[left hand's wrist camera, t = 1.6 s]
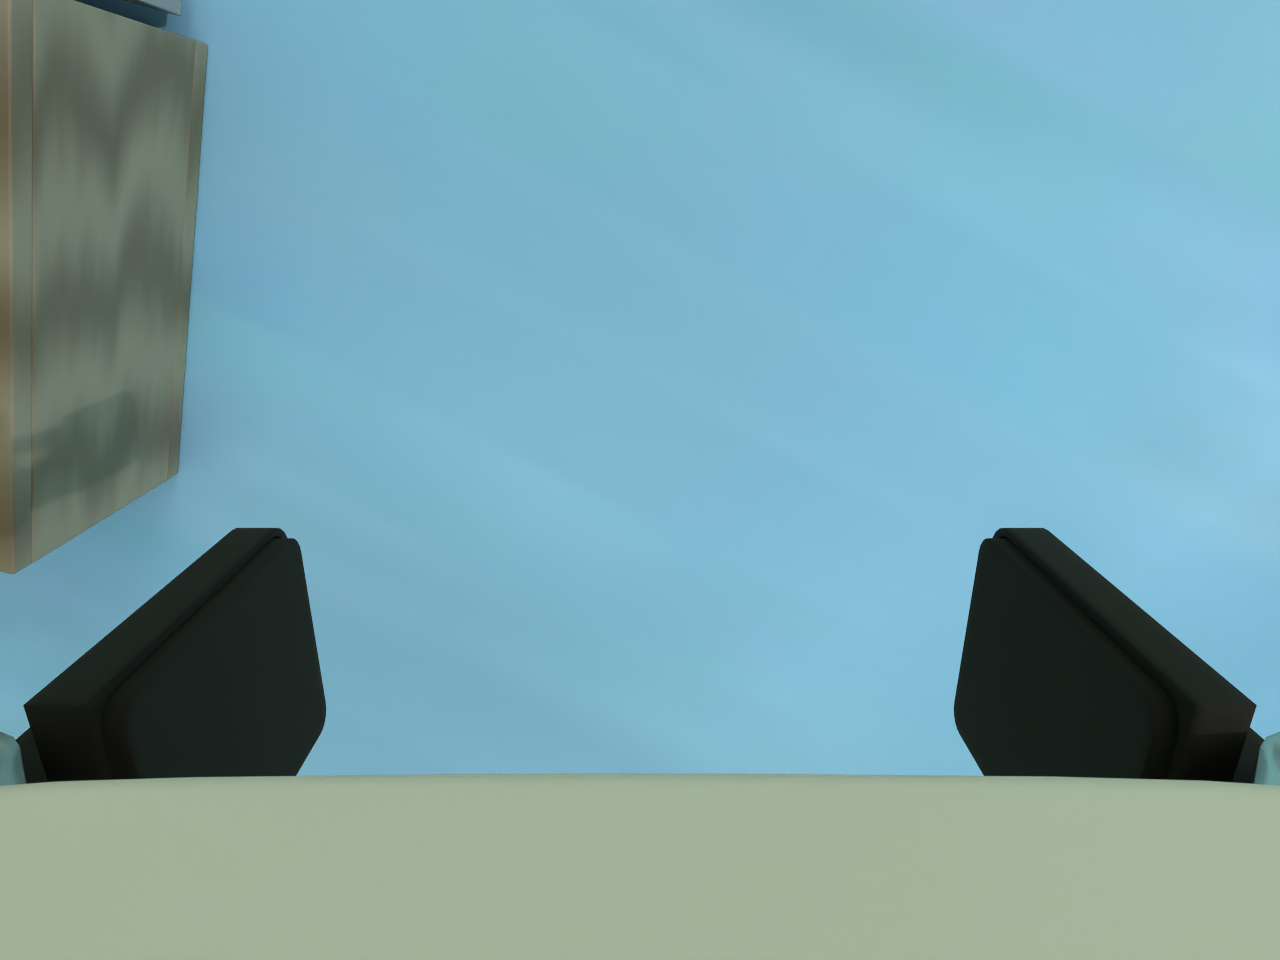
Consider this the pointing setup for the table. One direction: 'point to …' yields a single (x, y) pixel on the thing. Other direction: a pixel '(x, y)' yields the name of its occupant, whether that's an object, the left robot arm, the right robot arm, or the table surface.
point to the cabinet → (91, 264)
